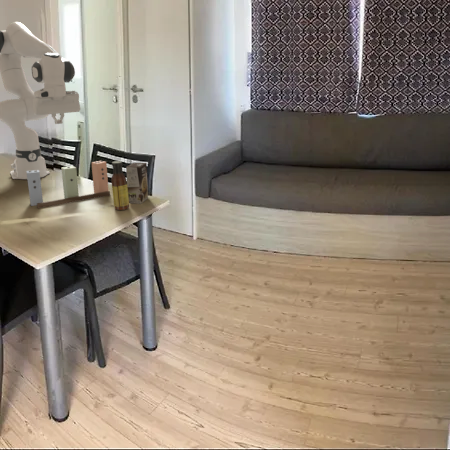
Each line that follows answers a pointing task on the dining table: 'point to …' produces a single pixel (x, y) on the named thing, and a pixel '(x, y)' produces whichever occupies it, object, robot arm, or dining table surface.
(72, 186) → the tile one
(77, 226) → the dining table surface
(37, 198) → the tile two
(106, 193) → the tile rack
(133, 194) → the coffee box
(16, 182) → the dining table surface
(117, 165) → the sauce bottle
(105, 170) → the tile three
